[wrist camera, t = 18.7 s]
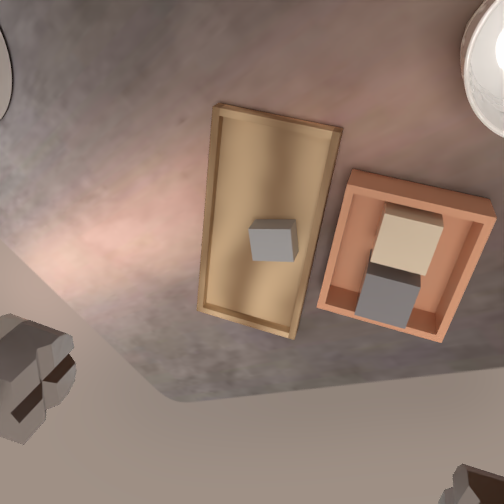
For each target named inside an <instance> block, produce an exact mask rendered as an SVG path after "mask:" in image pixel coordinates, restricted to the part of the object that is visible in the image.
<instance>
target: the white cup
mask: <svg viewBox="0 0 504 504" xmlns="http://www.w3.org/2000/svg"><path fill="white" fill-rule="evenodd" d="M460 65H461V74H462V79H463V82H464V86H465V91H466V95H467V98H468V101H469V103H470V105H471V107H472V109H473V111H474V113H475V114H476V116H477V117H478V118H479V119H480V121H481V122H482V123H483V124H484V125H485V126H486V127H488V128H489V129H490V130H491V131H493V132H494V133H496V134H498V135H499V136H501V137H503V138H504V0H484V2H483V3H482V4H481V5H480V7H479V8H478V9H477V11H476V12H475V13H474V14H473V16H472V17H471V18H470V20H469V21H468V22H467V25H466V29H465V32H464V36H463V39H462V43H461V47H460Z"/></svg>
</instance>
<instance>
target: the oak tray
mask: <svg viewBox="0 0 504 504" xmlns="http://www.w3.org/2000/svg"><path fill="white" fill-rule="evenodd" d="M342 132H343V128H339V127H334V126H329V125H325V124H320V123H315V122H310V121H305V120H300V119H295V118H290V117H286V116H281V115H276V114H271V113H266V112H261V111H256V110H251V109H247V108H242V107H237V106H232V105H227V104H222V103H218V104H216V105H214V106H213V108H212V121H211V134H210V147H209V159H208V172H207V185H206V198H205V211H204V223H203V236H202V249H201V262H200V275H199V287H198V300H197V311H200V312H203V313H206V314H210V315H213V316H216V317H220V318H223V319H226V320H230V321H233V322H236V323H240V324H243V325H246V326H250V327H253V328H256V329H259V330H263V331H266V332H269V333H273V334H276V335H279V336H283V337H286V338H289V339H293V340H294V339H295V336H296V333H297V330H298V326H299V321H300V317H301V313H302V308H303V304H304V299H305V295H306V291H307V286H308V282H309V277H310V273H311V268H312V264H313V260H314V255H315V251H316V246H317V242H318V238H319V233H320V229H321V224H322V220H323V215H324V211H325V207H326V202H327V198H328V193H329V189H330V185H331V180H332V176H333V171H334V167H335V163H336V158H337V154H338V149H339V145H340V140H341V136H342ZM255 219H296V227H297V238H298V248H299V252H298V254H297V256H296V258H295V260H294V262H277V261H253V259H252V252H251V245H250V238H249V231H248V229H249V227H250V226H251V224H252V223H253V222H254V220H255Z"/></svg>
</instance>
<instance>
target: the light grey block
mask: <svg viewBox="0 0 504 504" xmlns="http://www.w3.org/2000/svg"><path fill="white" fill-rule="evenodd" d="M248 231H249V238H250V245H251V252H252V259H253V261H277V262H294V260H295V258H296V256H297V254H298V252H299V248H298V238H297V227H296V219H255V220H254V222H253V223H252V224H251V226H250V227H249V229H248Z"/></svg>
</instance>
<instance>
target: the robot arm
mask: <svg viewBox="0 0 504 504" xmlns="http://www.w3.org/2000/svg"><path fill="white" fill-rule="evenodd" d="M11 89H12V73H11V65H10V59H9V55H8V51H7V47H6V44H5V41H4V39H3V36H2V33H1V31H0V119H1V118H2V117H3V115H4V114H5V112H6V110H7V107H8V104H9V101H10V96H11ZM73 348H74V344H73V339H72V336H71V335H69V334H66V333H64V332H61V331H58V330H55V329H53V328H50V327H47V326H44V325H42V324H38V323H36V322H33V321H31V320H27V319H24V318H21V317H19V316H16V315H13V314H6V315H3V316H1V317H0V437H3V438H6V439H8V440H11V441H14V442H17V443H20V444H23V445H24V444H25V443H26V442H27V441H28V439H29V438H30V437H31V436H32V435H33V434H34V433H35V432H36V430H37V429H38V428H39V427H40V426H41V425H42V424H43V423H44V421H45V420H46V410H47V409H49V408H52V407H54V406H56V405H59V404H60V403H61V402H62V401H63V399H64V398H65V397H66V396H67V395H68V393H69V391H70V389H71V387H72V385H73V383H74V381H75V375H76V364H75V361H74V360H73V359H72V357H71V356H70V354H69V353H70V352H71V350H72V349H73ZM438 504H504V477H503V476H499V475H496V474H493V473H490V472H487V471H484V470H480V469H477V468H474V467H471V466H468V465H465V464H462V465H460V466H458V467H457V469H456V471H455V472H454V474H453V487H451V488H449V489H445V490H444V492H443V494H442V496H441V498H440V500H439V502H438Z"/></svg>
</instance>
